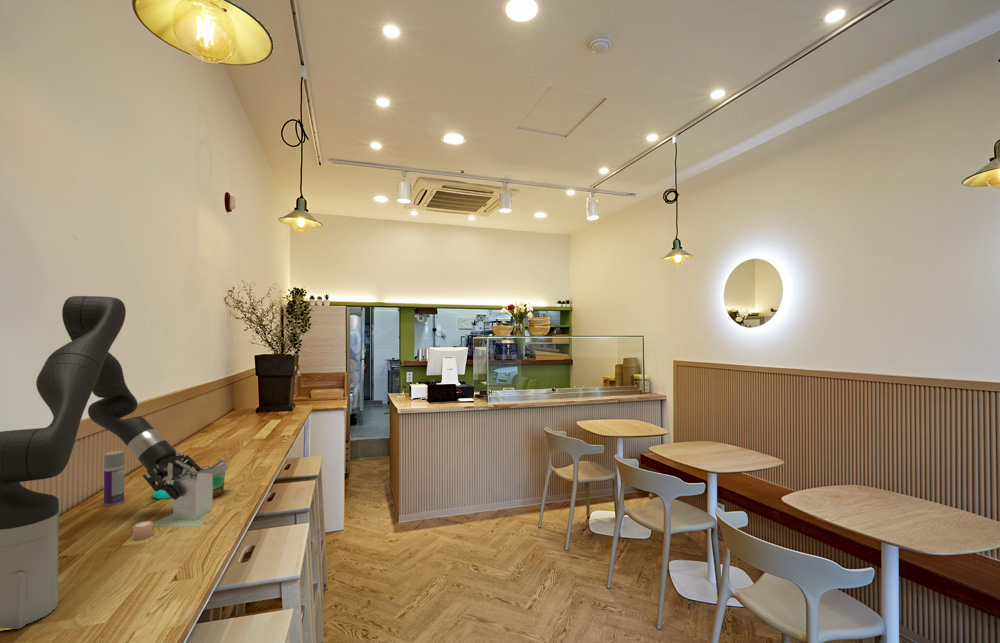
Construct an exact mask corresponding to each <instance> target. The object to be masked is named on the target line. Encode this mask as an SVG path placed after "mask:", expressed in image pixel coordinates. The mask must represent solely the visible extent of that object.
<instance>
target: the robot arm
mask: <svg viewBox="0 0 1000 643" xmlns="http://www.w3.org/2000/svg"><path fill="white" fill-rule="evenodd" d="M126 310H127V309H126V306H125V303H124V302H123V301H122V300H121V299H119V298H117V297H112V296H98V295H96V296H95V295H92V296H91V295H88V296H87V295H73V296H70V297H68V298H66V300H65V301H64V303H63V306H62V309H61V313H62V314H61V315H62V321H63V325H64V328H65V330H66V332H67V335H68V337H69V338H70V342H67V343H65V344H64V345H62V346H61V347H59V348H57V349H56V350H55V351H53V352H52V353H51V354H50V355H49V356H48V357H47V359H46V360H45V362H44V364H43V366H42V368H41V370H40V371H39V373H38V376H37V378H36V382H35V383H36V384H35V386H36V389H37V392H38V394H39V395H40V397H41V399H42V400H43V401H44V403H45V405H47V407H48V408H49V410H50V412H51V414H52V416H53V418H52V420H51V422H50V424H49V425H48V426H46V427H38V428H27V429H25V428H24V429H12V430H1V431H0V628H13V629H18V630H20V629H19V628H21V629H23V628H24V627H25V625H26V624H28V623H30V624H32V623H34V622H33V621H35V622H36V620H37V621H38V619H39V620H41V619H43V618H45V617H46V616H48V615H50V614H51V613H52V612H54V611H55V610H56V609H57V608H58V606H59V605H58V604H59V528H60V527H59V526H60V522H59V520H60V519H59V517H60V513H59V512H60V508H59V507H60V503H59V498H58V497H57V496H55V495H52V494H51V493H50V494H49V493H44V492H38V491H34V490H31V489H28V488H26V487H25V486H23V485H22V484H21V483H23V482H29V481H30V482H31V481H41V480H46V479H50V478H55V477H57V476H59V475H60V474H61V473H63V471H64V470H65V469H66V467H67V465H68V463H69V460H70V458H71V455H72V453H73V449H74V446H75V442H76V438H77V434H78V432H79V429H80V424H81V421H82V418H83V414H84V412H85V410H86V407H87V404H88V402H89V400H90V398H91V395H92V394H93V395H94V396H95V397H98V398H101V399H99V400H96V401H95V402H92V403H91V404H90V405H89V406H88V408H87V415H88V417H89V418H90V420H91V421H92V422H94V423H95V424H97V425H98V426H99V427H101V428H104V429H106V430H108V431H109V432H110V433H112V434H114V435H116V436H117V437H118V438H119V439H120V440H121V441H122V442H123V443H124V445H126V447H128V449H129V450H130V452H131V453H132V455H133V456H134V457H135V458H136V459H137V460H138V461H139V463H140V464H142V466H143V467H144V468H145V469H146V471H145V473H143V474H142V477H143V478H144V479H145V481H146V483H148V484H149V485H150V487H151V488H152V489H153V491H154V490H155V491H159V490H163V491H166V492H167V493H168V495H169V496H170V497H171V498H170V499H172V500H173V499H174V500H176V499H178V498H179V497H180V496H181V495H182V493H181V492H180V491H179V490H178V488H177V487H176V486H175V485H174V484H172V478H174V477H178V476H179V477H183V476H186V475H188V473H189V472H190V473H191V472H197V473H198V472H199V471H200V470H201V468H202V467H201V466H199V465H198V463H197V462H195V461H194V460H193V459H192V458H191V457H190V456H189V455H188V454H187V455H186V454H185V455H184V458H182V459H179V458H177V457H176V451H177V449H175V448H174V446H173V445H171V444H170V443H169V442H168V440H167V439H166V438H165V437H164V436H163V435H162V434H161V433H159V432H158V431H157V430H156V429H155V428H154V427H153V426H152V425H151V424H150V423H149V422H148V420H146V419H145V417H142V416H134V417H133V416H132V417H129V418H124V417H126V416H128V415H130V414H132V413H134V412H135V411H136V410H137V408H138V405H139V404H138V399H137V398H136V397H135V395H134V394H133V393H132V392H131V391H130V389H129V387H128V386H127V383H126V380H125V376H124V372H123V366H122V364H121V363H120V361H119V360H118V359H117V357H115V356H114V355H113V354H112V353H110V352H109V350H110V349H111V348H112V345H113V344H114V342H115V340H116V339H117V337H118V335H119V334H120V331H121V330H122V329H123V328H122V327H123V326H124V323H125V319H126V312H127V311H126ZM183 468H184V469H185V470H184V471H183ZM171 484H172V485H171ZM53 610H54V611H53ZM49 613H50V614H49ZM42 617H43V618H42ZM40 618H41V619H40ZM31 622H32V623H31ZM28 625H29V624H28ZM26 626H27V625H26ZM22 627H23V628H22Z"/></svg>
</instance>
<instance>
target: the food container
mask: <svg viewBox="0 0 1000 643" xmlns="http://www.w3.org/2000/svg"><path fill="white" fill-rule="evenodd" d="M200 468H201V470H200V471H199V472H198V473H206V474H213V494H212V500H214V498H215V499H217V498H219V496H220V497H221V496H222V494H224V487H225V478H226V471H227V470H228V468H229V467H228V463H227V461H226V460H223V459H218V463H215V464H212V465H206V466H203V467H200ZM188 474H190V472H188Z"/></svg>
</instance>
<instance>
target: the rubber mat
mask: <svg viewBox="0 0 1000 643" xmlns="http://www.w3.org/2000/svg"><path fill="white" fill-rule="evenodd" d="M230 506H231V508H230V507H229V508H230V509H232V508H234V507H235V506H234V505H230ZM209 517H210V516H209ZM211 517H212V518H211ZM211 517H210V519H209V520H210V521H211V520H213V519H216V517H214V515H213V516H212V515H211ZM202 518H203V517H202ZM202 518H199V519H197V520H173V513H170V514H168V515H166V516H164V517H163V518H161V519H158V520H156V521H153V527H181V528H182V527H183V528H184V527H188V528H199V527H201V526H203V525H204V524H203V522H204V521H205V520H204V521H203V520H202ZM200 519H201V520H202V521H203V522H201V521H200ZM203 519H204V518H203ZM209 520H206V521H208V522H210V521H209ZM206 521H205V522H206ZM199 522H200V523H199ZM201 523H202V524H203V525H202V524H201ZM206 523H207V522H206Z"/></svg>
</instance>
